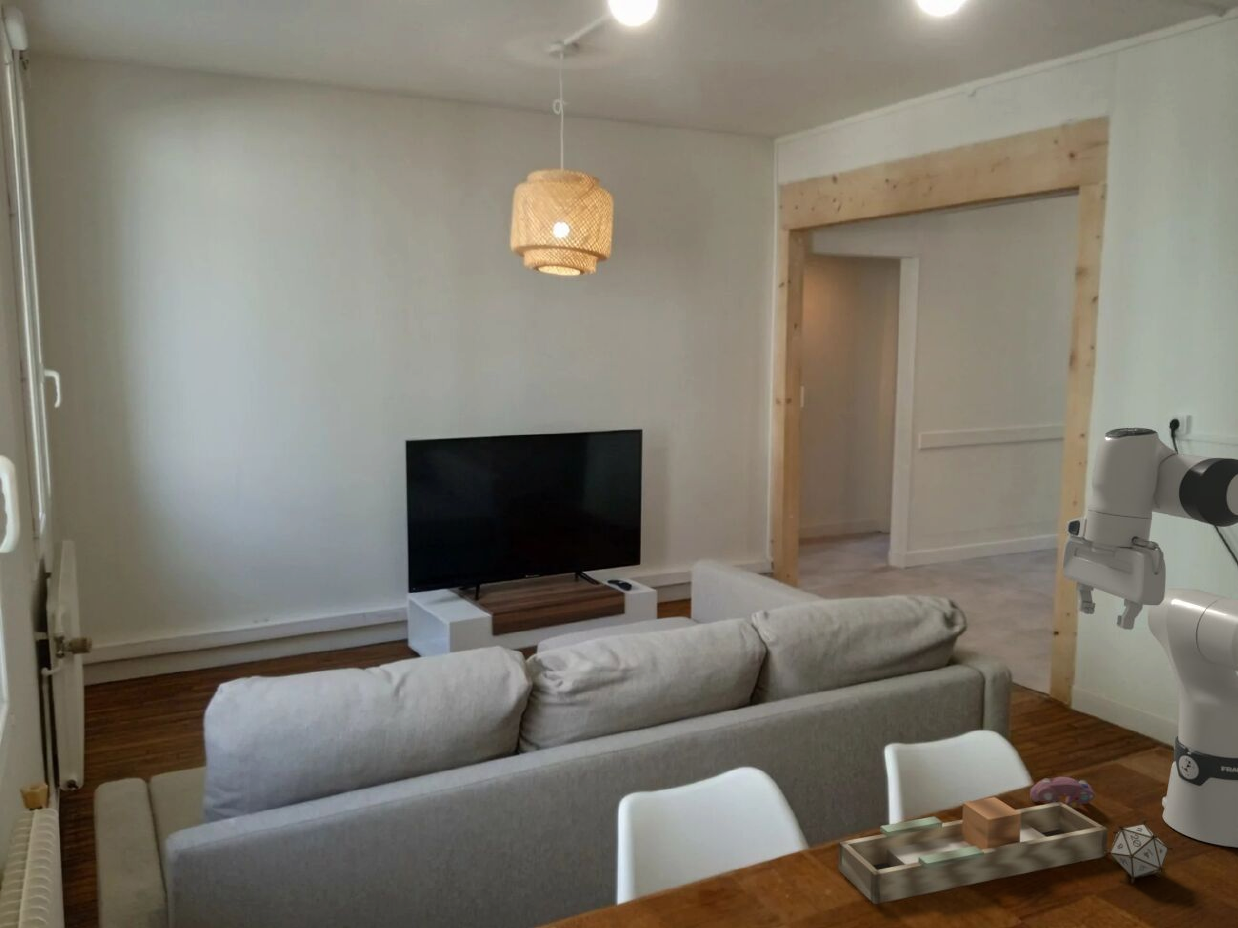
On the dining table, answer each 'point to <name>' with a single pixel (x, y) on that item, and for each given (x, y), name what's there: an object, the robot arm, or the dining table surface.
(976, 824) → the block
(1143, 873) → the game die
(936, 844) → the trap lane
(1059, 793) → the video game controller
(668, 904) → the dining table surface
